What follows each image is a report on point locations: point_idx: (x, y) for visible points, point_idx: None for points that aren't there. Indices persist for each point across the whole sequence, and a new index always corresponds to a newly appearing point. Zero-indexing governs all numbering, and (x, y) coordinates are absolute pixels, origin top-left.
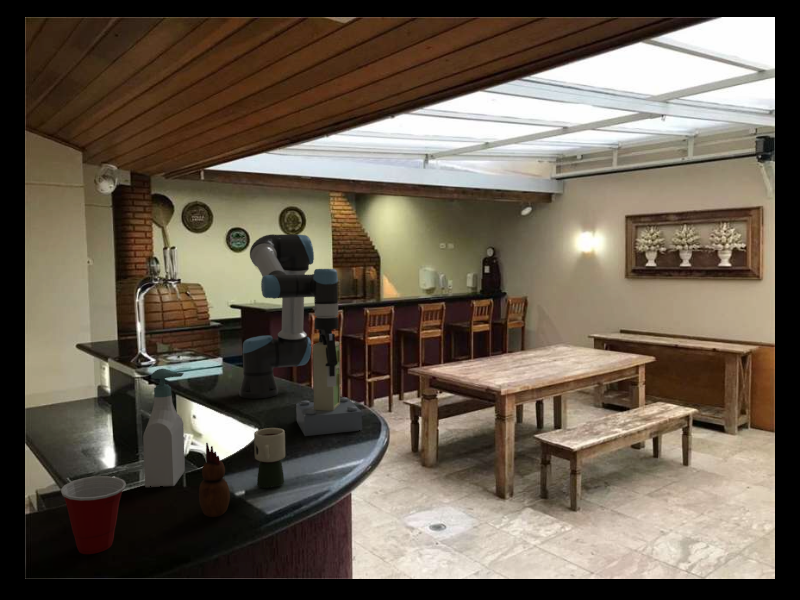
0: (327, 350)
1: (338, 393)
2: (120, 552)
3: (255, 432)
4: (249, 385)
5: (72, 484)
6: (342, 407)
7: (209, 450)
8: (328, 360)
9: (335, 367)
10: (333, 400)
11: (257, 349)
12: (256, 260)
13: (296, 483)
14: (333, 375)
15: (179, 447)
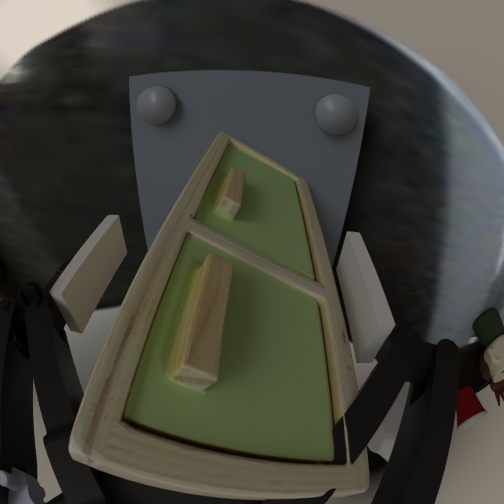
0: (390, 461)
1: (224, 154)
2: (479, 380)
3: (496, 381)
4: None
5: (458, 429)
6: (267, 131)
7: (499, 398)
8: (407, 395)
9: (390, 315)
10: (310, 196)
11: None
12: None
13: (501, 295)
14: (389, 292)
15: (397, 410)
